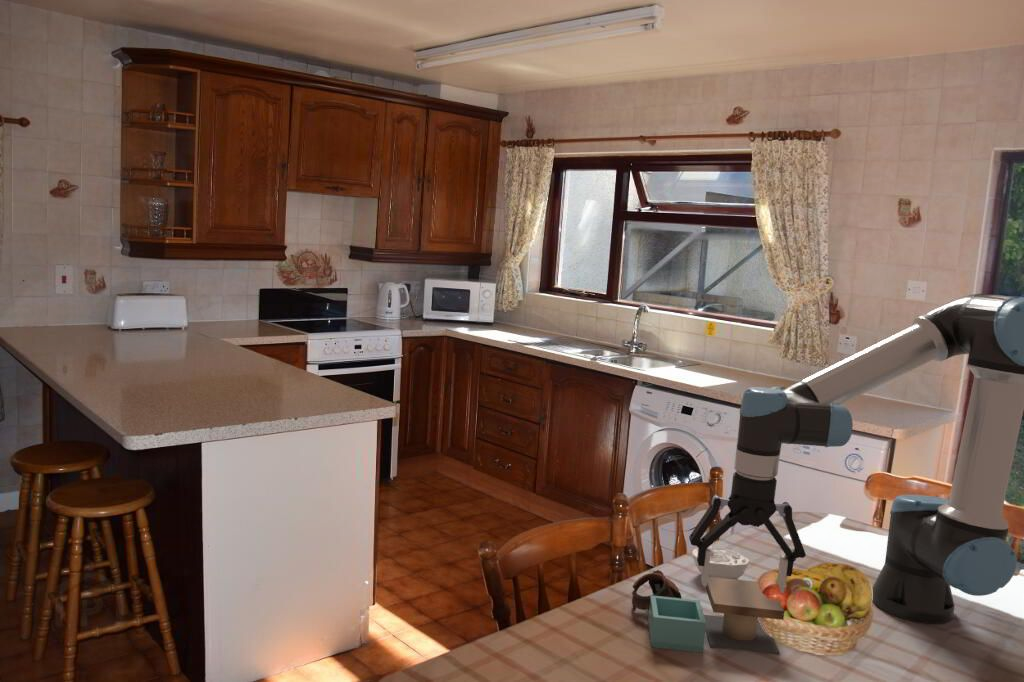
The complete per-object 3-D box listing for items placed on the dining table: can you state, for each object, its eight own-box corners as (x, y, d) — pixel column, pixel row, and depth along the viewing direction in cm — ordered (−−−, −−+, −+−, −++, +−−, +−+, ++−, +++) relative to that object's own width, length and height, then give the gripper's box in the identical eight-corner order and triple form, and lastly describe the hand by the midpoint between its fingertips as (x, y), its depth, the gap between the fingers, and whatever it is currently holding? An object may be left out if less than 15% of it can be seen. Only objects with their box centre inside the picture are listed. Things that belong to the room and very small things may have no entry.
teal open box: (697, 628, 150) (699, 600, 149) (703, 652, 141) (706, 622, 140) (647, 623, 151) (650, 595, 150) (650, 646, 142) (653, 617, 141)
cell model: (746, 592, 168) (749, 561, 167) (687, 581, 172) (690, 550, 171) (748, 574, 177) (751, 544, 177) (692, 564, 181) (695, 535, 180)
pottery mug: (690, 626, 152) (675, 592, 150) (643, 640, 154) (627, 607, 152) (683, 585, 163) (668, 553, 161) (638, 598, 165) (623, 567, 163)
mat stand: (765, 623, 154) (769, 591, 153) (779, 654, 142) (783, 619, 141) (701, 616, 155) (704, 584, 154) (710, 646, 143) (713, 612, 143)
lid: (769, 591, 153) (770, 583, 153) (783, 619, 141) (784, 611, 141) (704, 584, 154) (705, 576, 154) (713, 612, 143) (714, 603, 142)
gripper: (821, 475, 148) (806, 587, 150) (682, 461, 150) (670, 571, 153) (832, 487, 140) (817, 604, 143) (686, 472, 143) (674, 587, 145)
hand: (741, 587), depth 148 cm, fingers open, 13 cm apart
